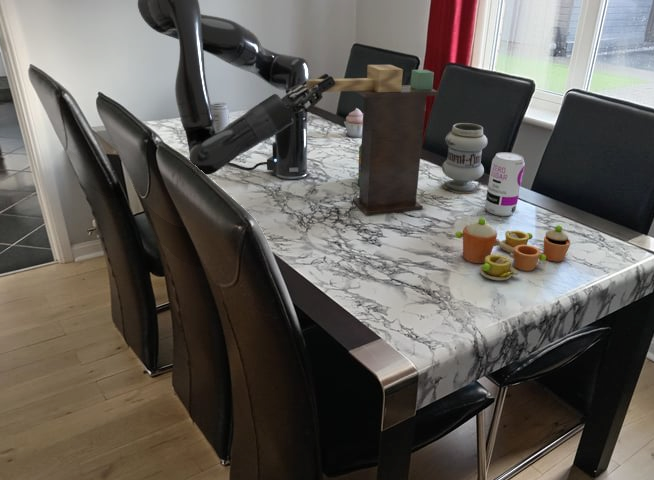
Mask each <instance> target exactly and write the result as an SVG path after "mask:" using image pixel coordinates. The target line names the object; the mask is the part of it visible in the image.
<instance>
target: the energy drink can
mask: <svg viewBox="0 0 654 480" xmlns="http://www.w3.org/2000/svg"><path fill="white" fill-rule="evenodd" d="M210 103H211V102H210ZM211 108H212V113H213V118H214V128H215V132H216V133H218V132H220V131H221V130H223V129H224V128H225V127H226V126H227V125H228V124H230V123H231V122H230V110H229V107H228V106H227V103H225V102H212V103H211Z"/></svg>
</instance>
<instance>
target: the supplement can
mask: <svg viewBox="0 0 654 480" xmlns="http://www.w3.org/2000/svg"><path fill="white" fill-rule="evenodd" d="M525 165H526V164H525V160H524V156H523V155H521V154H518V153H514V152H508V151H507V152H497V153H496V154H495V155H494V157H493V158H492V160H491V166H490V173H489V178H488V185H487V190H486V196H485V203H484V208H485V209H486V212H488V213H489V214H491V215H494V216H499V217H508V216H509V217H510V216H512V215H513V214H515V213H516V211H517V207H518V201H519V196H520V190H521V186H522V180H523V175H524V170H525Z"/></svg>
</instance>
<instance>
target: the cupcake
mask: <svg viewBox="0 0 654 480" xmlns="http://www.w3.org/2000/svg"><path fill="white" fill-rule="evenodd" d="M343 123H344V126H345V128H346V135H347V136H348V137H349V138H350V137H351V138H362V126H363V111H361V110H360V109H359V108H357V107H355V109H354V110H353V111H351V112H349V113H348V115H347V116H346V117H345V120H344V121H343Z"/></svg>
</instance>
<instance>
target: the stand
mask: <svg viewBox="0 0 654 480" xmlns="http://www.w3.org/2000/svg"><path fill="white" fill-rule="evenodd" d="M353 92H354V93H356V94H358V95H360V96H362V97H363V108H362V113H363V126H362V137H361V144H362V147H361V168H360V186H359V191H358V192H359V193H358V197H353V198H352V203H353V204H355V206H356V207H357V208H358V209H359V210H360V211H362V213H363V214H365V215H366V216H374V215H382V214H393V213H400V212H401V213H402V212H410V211H419V210H420V211H421V210H423V205H422V204H421V203H420V202H418V201H417V195H418V194H417V193H418V185H419V184H418V183H419V174H420V166H421V165H420V164H421V155H422V145H423V133H424V123H425V114H426V105H427V97H429V96H430V97H435V96H438V94H439V91H438V90H435V89H434V88H432V90H417V89H414V88H412V87H411V84H406V85H405V84H404V85H403V84H402V88H401V92H376V91H374V90H371V91H353Z"/></svg>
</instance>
